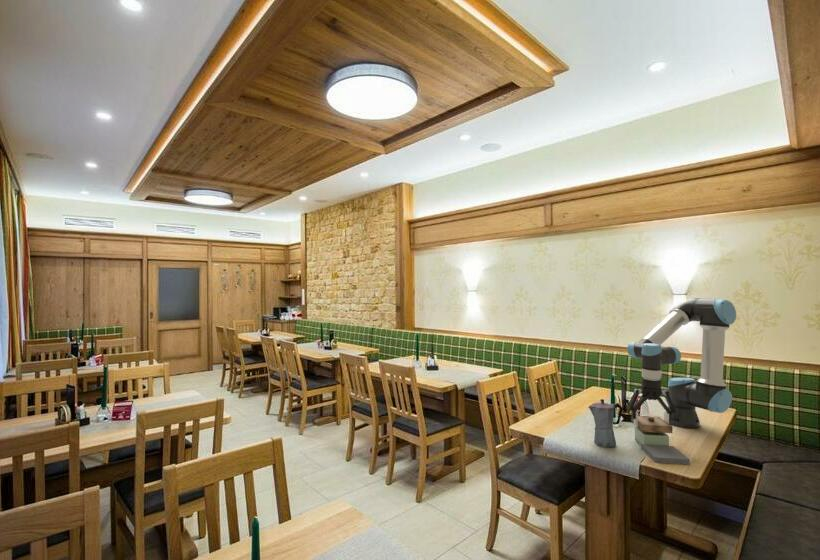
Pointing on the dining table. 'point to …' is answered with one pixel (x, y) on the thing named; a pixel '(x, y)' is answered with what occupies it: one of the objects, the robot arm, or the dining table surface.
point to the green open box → (651, 438)
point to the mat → (665, 454)
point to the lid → (653, 424)
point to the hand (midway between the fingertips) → (651, 426)
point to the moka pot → (604, 423)
